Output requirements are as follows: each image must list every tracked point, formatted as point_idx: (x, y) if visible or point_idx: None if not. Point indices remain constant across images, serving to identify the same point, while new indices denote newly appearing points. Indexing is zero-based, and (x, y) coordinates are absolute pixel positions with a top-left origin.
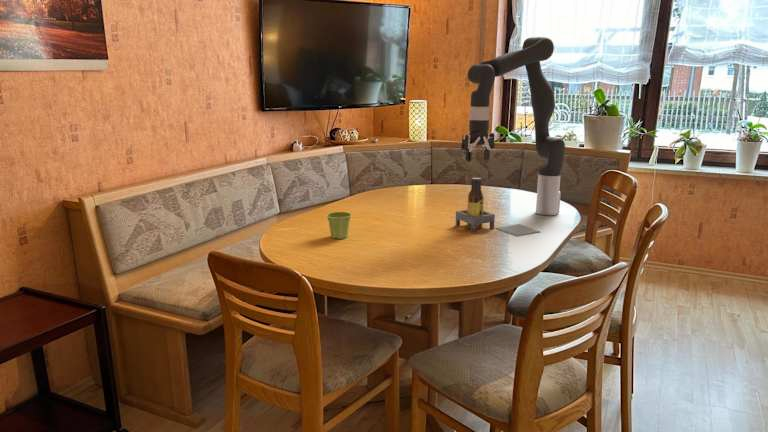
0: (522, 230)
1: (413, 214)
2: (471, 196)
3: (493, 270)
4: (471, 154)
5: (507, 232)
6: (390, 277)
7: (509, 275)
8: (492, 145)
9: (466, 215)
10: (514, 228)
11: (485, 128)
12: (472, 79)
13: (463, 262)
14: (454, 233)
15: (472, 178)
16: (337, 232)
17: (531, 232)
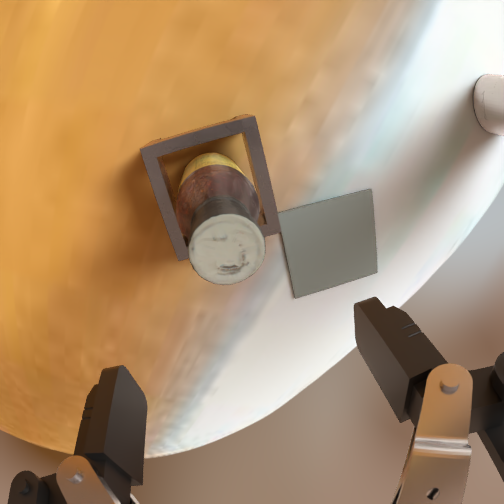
0: (338, 258)
1: None
2: (184, 234)
3: (149, 439)
4: (143, 463)
5: (288, 263)
6: (8, 418)
7: (168, 452)
8: (488, 438)
9: (163, 218)
10: (329, 233)
11: None
12: None
13: None
14: (118, 234)
15: (193, 252)
16: None
17: (348, 280)
